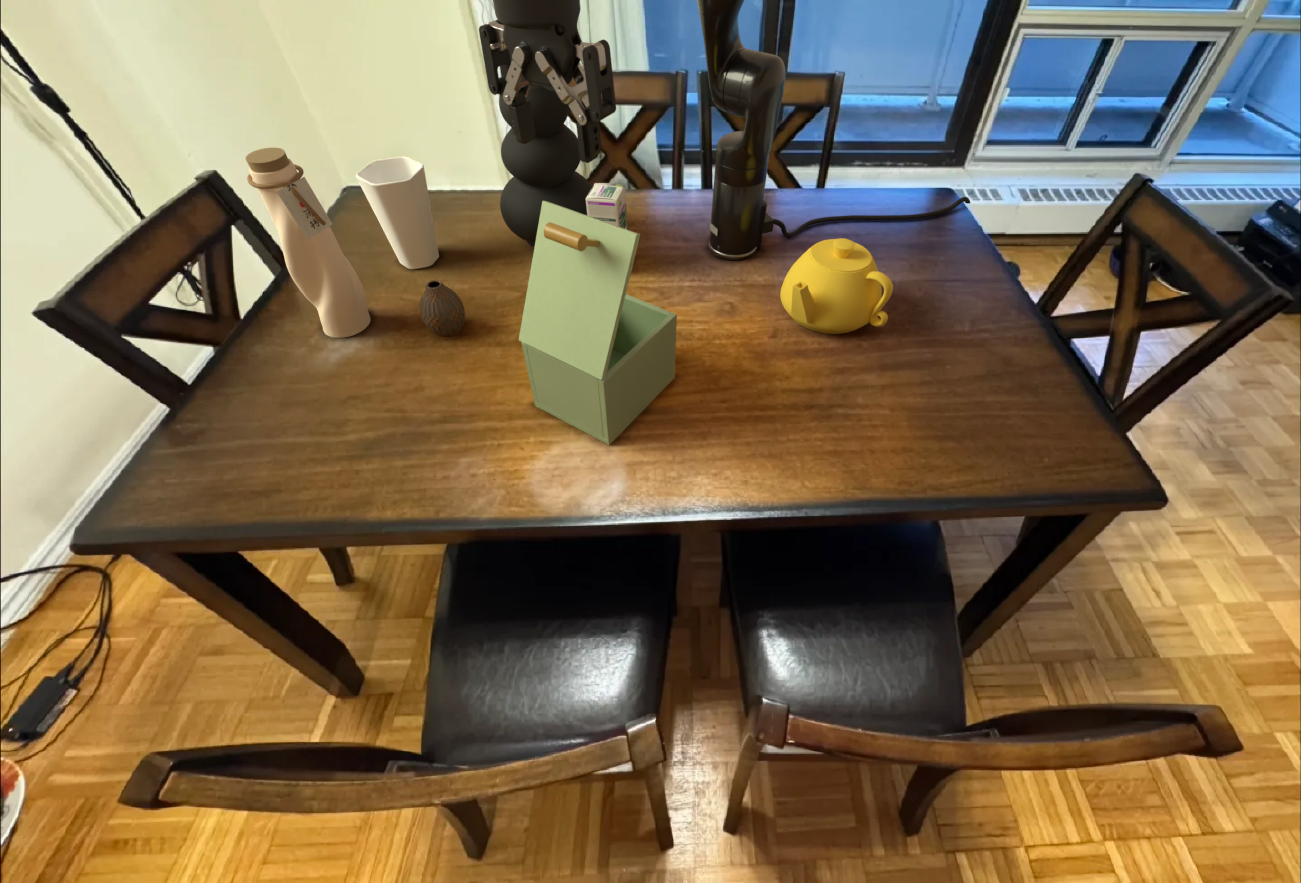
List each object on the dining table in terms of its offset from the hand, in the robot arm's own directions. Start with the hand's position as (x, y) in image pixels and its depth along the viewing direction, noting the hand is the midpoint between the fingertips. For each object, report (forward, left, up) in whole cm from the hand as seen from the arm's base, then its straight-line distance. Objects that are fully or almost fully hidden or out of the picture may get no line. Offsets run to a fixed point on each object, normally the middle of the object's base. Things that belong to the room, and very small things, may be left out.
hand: (557, 149), depth 61 cm
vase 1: (+16, -25, -36) cm, 47 cm away
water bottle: (+31, -33, -36) cm, 58 cm away
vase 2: (-9, -46, -36) cm, 59 cm away
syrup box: (-16, -32, -36) cm, 51 cm away
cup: (+17, -49, -36) cm, 63 cm away
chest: (-3, 0, -36) cm, 36 cm away
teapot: (-44, -2, -36) cm, 57 cm away
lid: (0, +2, -16) cm, 16 cm away
